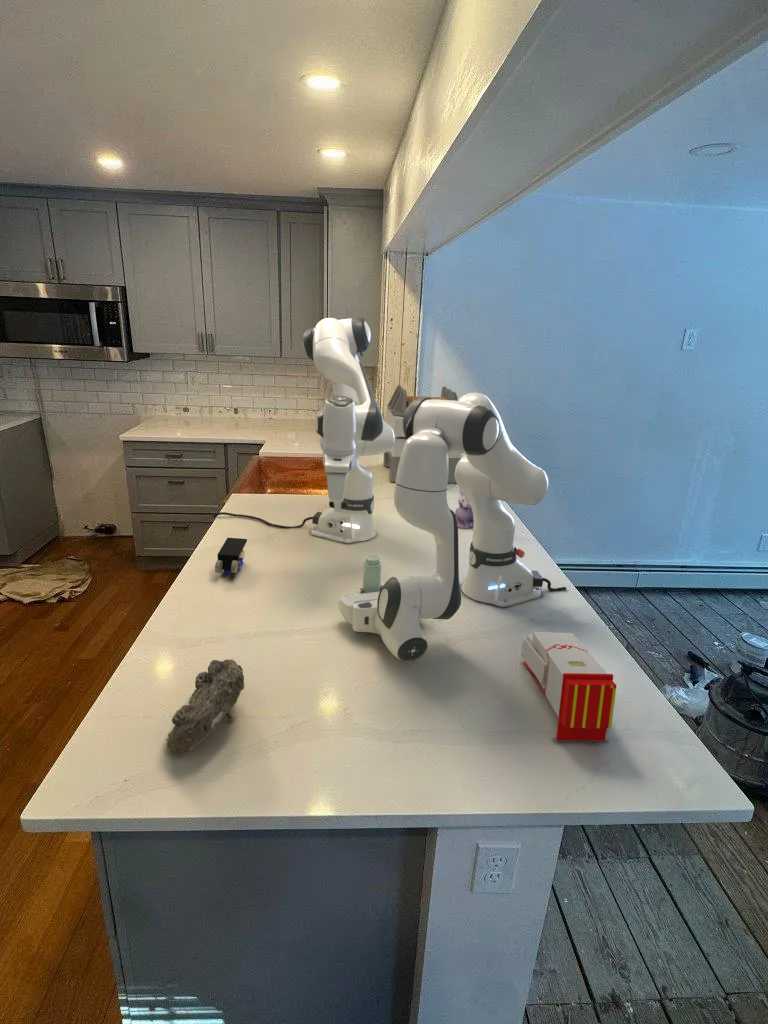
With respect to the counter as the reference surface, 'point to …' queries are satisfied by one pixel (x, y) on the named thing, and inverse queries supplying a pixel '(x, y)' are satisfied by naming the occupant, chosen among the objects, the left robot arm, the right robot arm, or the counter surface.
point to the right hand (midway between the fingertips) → (370, 589)
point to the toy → (571, 685)
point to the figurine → (464, 512)
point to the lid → (343, 504)
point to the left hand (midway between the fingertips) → (338, 507)
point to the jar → (371, 574)
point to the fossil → (206, 705)
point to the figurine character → (230, 556)
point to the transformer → (395, 420)
